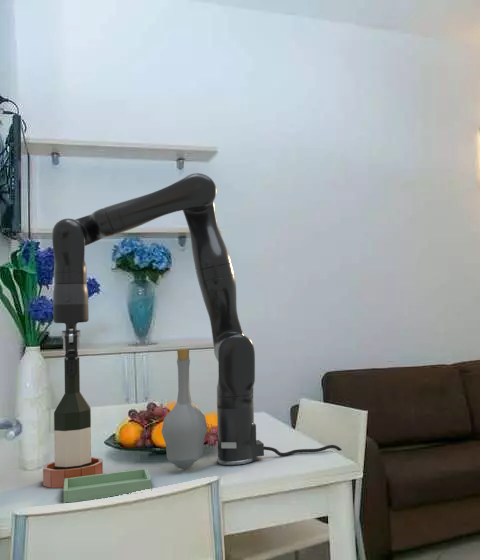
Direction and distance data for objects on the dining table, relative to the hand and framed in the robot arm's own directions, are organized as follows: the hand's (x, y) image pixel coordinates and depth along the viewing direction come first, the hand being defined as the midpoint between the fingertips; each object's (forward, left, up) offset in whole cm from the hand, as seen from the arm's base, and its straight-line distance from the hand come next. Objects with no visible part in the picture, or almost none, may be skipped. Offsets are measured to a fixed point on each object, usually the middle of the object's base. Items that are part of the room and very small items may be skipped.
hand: (72, 374), depth 162 cm
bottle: (-25, +4, -25) cm, 36 cm away
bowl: (0, 0, -25) cm, 25 cm away
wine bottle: (0, 0, -25) cm, 25 cm away
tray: (-7, +14, -25) cm, 30 cm away
